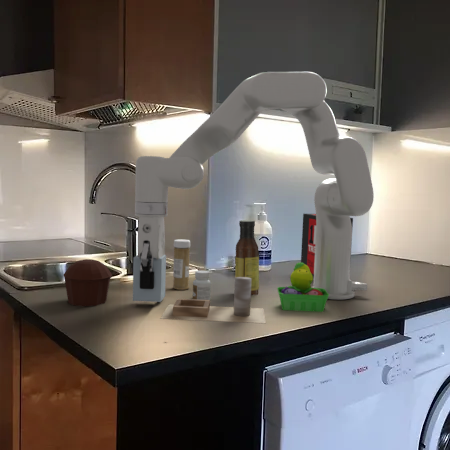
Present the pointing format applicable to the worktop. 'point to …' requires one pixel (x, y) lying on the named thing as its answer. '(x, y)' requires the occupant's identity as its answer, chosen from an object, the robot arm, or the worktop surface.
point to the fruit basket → (302, 292)
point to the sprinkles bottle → (181, 264)
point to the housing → (159, 281)
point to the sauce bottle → (247, 255)
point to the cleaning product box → (310, 241)
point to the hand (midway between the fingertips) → (149, 284)
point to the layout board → (205, 312)
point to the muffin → (87, 283)
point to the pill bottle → (202, 286)
